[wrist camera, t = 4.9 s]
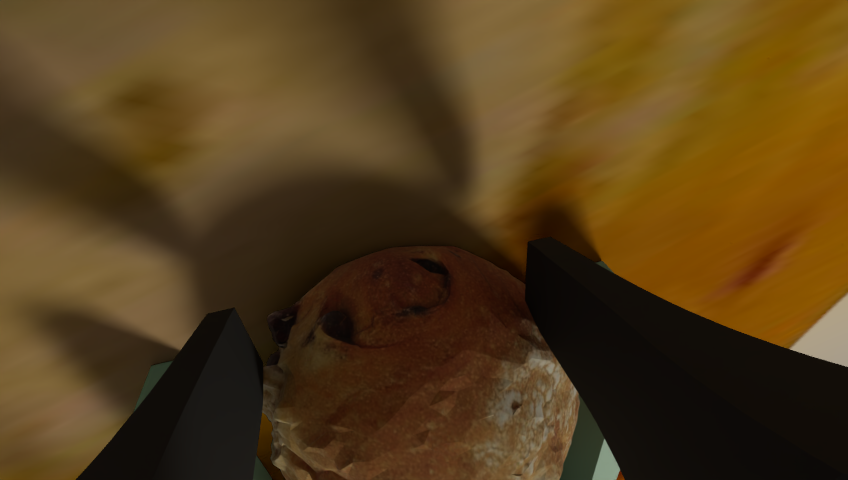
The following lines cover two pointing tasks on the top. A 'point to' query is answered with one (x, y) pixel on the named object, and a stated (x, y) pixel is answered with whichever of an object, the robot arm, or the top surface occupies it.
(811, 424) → the robot arm
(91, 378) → the top surface
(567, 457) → the teal shallow tray
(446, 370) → the bread roll
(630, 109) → the top surface
